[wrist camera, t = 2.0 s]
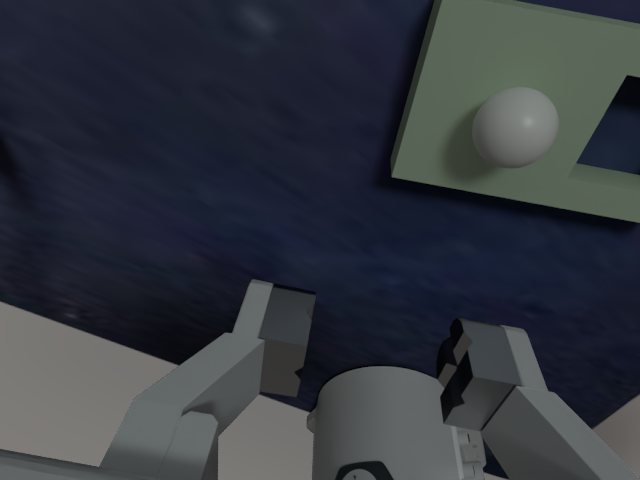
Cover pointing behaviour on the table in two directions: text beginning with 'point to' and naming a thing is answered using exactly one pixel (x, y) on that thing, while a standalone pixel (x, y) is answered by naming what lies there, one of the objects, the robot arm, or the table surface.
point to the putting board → (518, 71)
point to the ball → (515, 127)
